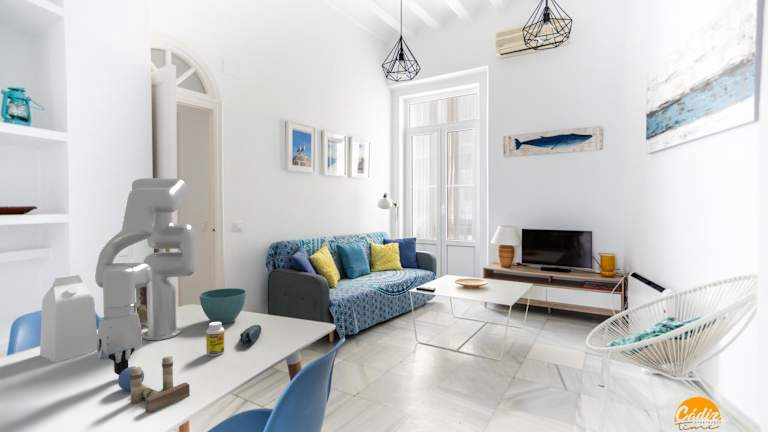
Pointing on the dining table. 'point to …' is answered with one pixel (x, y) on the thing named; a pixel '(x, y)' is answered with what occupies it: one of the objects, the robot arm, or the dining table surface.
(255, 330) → the fish model
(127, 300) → the robot arm
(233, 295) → the teal bowl
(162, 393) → the back wall
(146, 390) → the front pin
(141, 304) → the coffee box
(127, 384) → the ball
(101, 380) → the dining table surface
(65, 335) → the milk
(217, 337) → the supplement bottle
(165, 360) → the back left pin
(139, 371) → the back right pin
